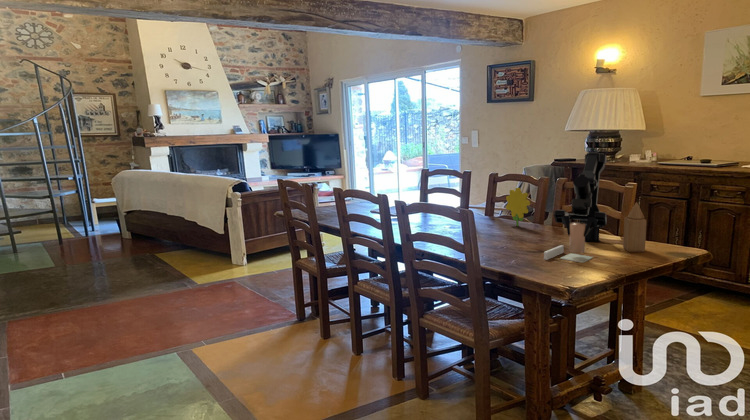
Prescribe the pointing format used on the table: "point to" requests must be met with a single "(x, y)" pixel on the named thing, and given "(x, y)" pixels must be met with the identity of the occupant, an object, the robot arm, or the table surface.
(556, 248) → the low wall
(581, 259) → the tile
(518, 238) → the table surface
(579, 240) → the tan round cylinder
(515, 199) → the decorative item
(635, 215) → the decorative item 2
